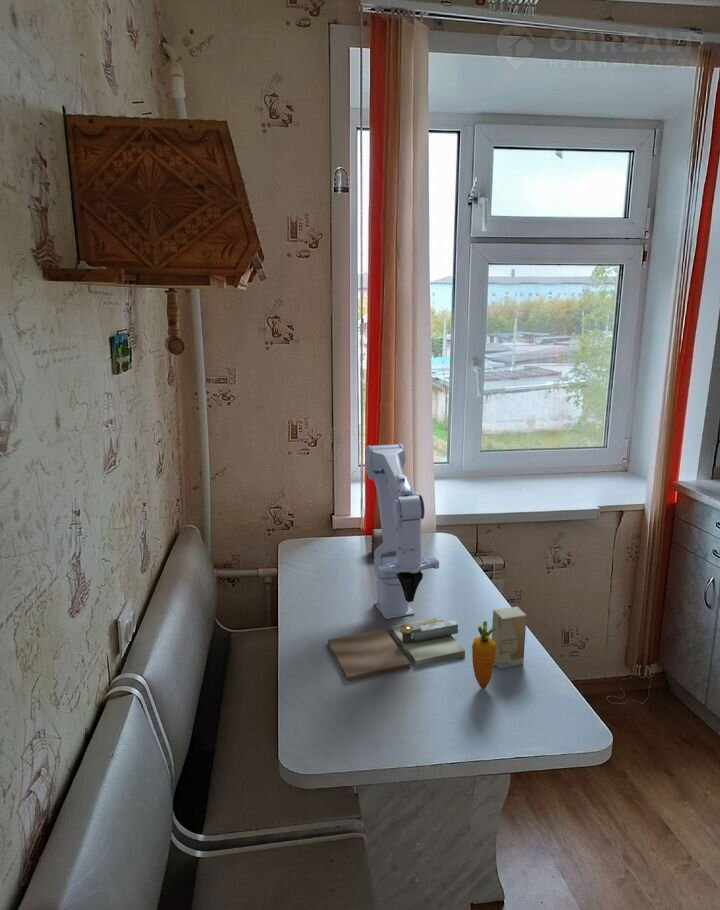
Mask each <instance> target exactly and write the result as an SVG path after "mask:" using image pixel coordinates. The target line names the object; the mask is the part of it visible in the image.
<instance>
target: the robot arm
mask: <svg viewBox="0 0 720 910" xmlns="http://www.w3.org/2000/svg"><path fill="white" fill-rule="evenodd" d="M364 455H365V456H364V461H365V469H366V475H367V478H368V479H369V480H370V481H373V482H374V485H375V489H376V494H377V502H378V510H379V511H378V512H379V518H380V526H381V527H380V529H382V537H383V543H382V544H381V545H380V546H379V547H378V548H377V549H376V550H375V553H374V557H373V558H374V560H373V562H374V563H373V564H374V565H373V566H374V567H373V569H374V574H375V578H376V579H377V581H376V585H377V586H376V587H377V588H376V589H377V595H376V596H377V600H376V601H373V603H374V605H375V606H376V608H377V609H378V610H379V612H380V613H381V614H382V616H383V617H384V618H385V619H386V620H388V619H394V618H399V617H405V616H411V615H415V610H413V609H412V608H411V606H410V603H412V602H415V601H414V600H415V596H416V593H417V589H418V587H419V585H420V583H421V581H422V580H423V577H424V574H423V572H422V571H423V570H430V569H435V570H437V569H440V561H439V559H438V558H436V557H431V558H422V520H424V518H425V515H426V513H425V512H426V511H425V502H424V498H423V496H422V494H421V493H419V492H416V490H415V489H414V487H413V484H412V481H411V479H410V478H409V477H408V476H407V475H405V474H404V472H403V470H404V467H405V464H406V451H405V447H404V446H403V444H402V443H396V444H382V445H381V444H380V445H367V446H366V448H365V450H364ZM394 553H396V554H394ZM383 554H393V555H383ZM381 555H382V556H381Z"/></svg>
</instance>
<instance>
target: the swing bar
mask: <svg viewBox="0 0 720 910" xmlns="http://www.w3.org/2000/svg"><path fill="white" fill-rule="evenodd" d="M402 624H403V625H401V626H400V632H401V633H403V634H411V638H412V639H413V640H414V642H416V641H421V640H426V639H431V638H437V637H442V636H447V635H451V636H453V635H455V634H456V635H458V633H459V632H458V631H459V630H458V629H459V624H458V623H457V621H455V620H454V619H449V620H444V621H443V622H437V623H432V624H427V625H421V626H419V625H418V624H417V625H410V624H405V623H402Z"/></svg>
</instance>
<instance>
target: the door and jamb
mask: <svg viewBox="0 0 720 910" xmlns="http://www.w3.org/2000/svg"><path fill="white" fill-rule="evenodd" d="M443 621H445V620H444V619H440V620H438V619H437V618H436V617H432V618H427V619H422V620H416V621H410V622H406V623H401V624H397V625H391V626H390V633H391V634H392V637H394V639H395V640H396V641H397V643H398V644H399V646H400V647H401V649H402V650H403V651H404V652H405V653H406V656H408V658H409V660H410V661H411V662H412V663H413V665H414V667H416V668H419V667H423V666H428V665H432V664H433V665H434V664H437V663H442V662H448V661H451V660H452V661H453V660H457V659H460V658H465V657H466V650H465V649H464V647H463V646H462V645H461V644H460V643H459V642H458V641H457V640H456V639H455V637H454V636H453V635H447V636H442V637H437V638H431V639H426V640H421V641H416V642H414V640H413V639H412V638H411V634H403V633H401V632H400V626H401V625H403V624H410V625H417V624H418V625H419V626H421V625H427V624H432V623H437V622H443ZM392 637H391V635H390V634H389V632H388V631H387V630H386V628H383V629H377V630H372V631H367V632H362V633H356V634H350V635H347V636H341V637H335V638H329V639H327V645H328V648H329V650H330V651H331V653H332V655H333V657H334V659H335V661H336V663H337V664H338V667H339V669H340V670H341V672H342V675H343V676H344V678H345V680H346V682H352V681H357V680H362V679H367V678H372V677H376V676H381V675H386V674H389V673H391V674H392V673H395V672H400V671H405V670H409V669H410V668H411V663H410V661H409V660H408V658H407V657H406V656H405V655H404V653H403V652H402V650H401V649H400V647H399V646H398V644H397V643H396V642H395V641H394V640H393V638H392Z"/></svg>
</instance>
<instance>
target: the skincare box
mask: <svg viewBox="0 0 720 910" xmlns="http://www.w3.org/2000/svg"><path fill="white" fill-rule="evenodd" d="M491 625H492V627H491V629H492V628H496V630H495V631H493V632H492V633H491V639H492V640H494V641H495V643H496V653H495V663H494V665H496V667H498V669H503V668H509V667H515V666H521V665H524V661H525V659H524V658H525V645H526V643H525V642H526V630H527V629H526V627H527V614H526V613H525V612H524V611H523V610H522V609H521V608H520V607H519V606H512V607H504V608H499V609H493V610H492V624H491Z"/></svg>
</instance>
